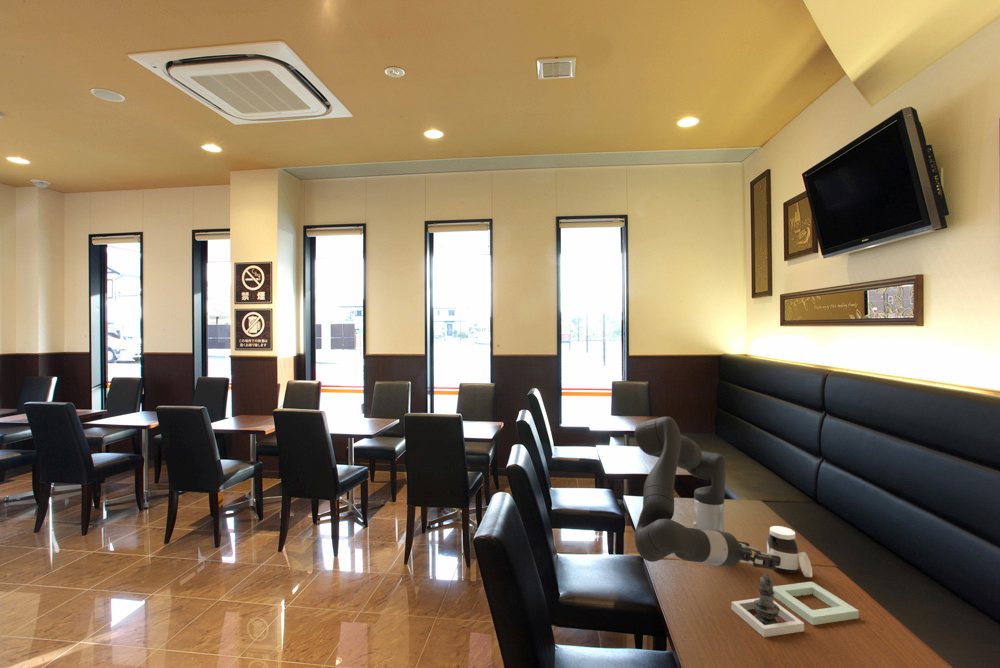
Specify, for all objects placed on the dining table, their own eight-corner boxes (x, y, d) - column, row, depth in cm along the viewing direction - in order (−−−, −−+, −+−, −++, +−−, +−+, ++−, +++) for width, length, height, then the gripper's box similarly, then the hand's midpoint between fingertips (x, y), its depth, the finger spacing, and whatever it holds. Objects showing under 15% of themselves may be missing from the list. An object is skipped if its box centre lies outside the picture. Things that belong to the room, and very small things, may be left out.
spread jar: (763, 558, 150) (764, 522, 150) (803, 563, 147) (803, 526, 147) (775, 577, 138) (775, 538, 138) (818, 582, 135) (818, 543, 135)
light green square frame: (812, 625, 116) (812, 617, 116) (769, 593, 129) (769, 586, 129) (858, 618, 118) (858, 610, 118) (812, 588, 132) (812, 581, 132)
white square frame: (763, 637, 111) (763, 629, 111) (731, 609, 122) (731, 601, 122) (804, 631, 113) (804, 623, 113) (768, 604, 124) (768, 596, 124)
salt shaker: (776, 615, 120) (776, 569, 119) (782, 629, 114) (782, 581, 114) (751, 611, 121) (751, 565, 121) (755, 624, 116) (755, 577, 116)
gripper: (741, 542, 101) (792, 549, 106) (692, 521, 114) (740, 528, 120) (736, 577, 100) (788, 582, 105) (688, 552, 113) (736, 558, 119)
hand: (762, 554), depth 113 cm, fingers open, 8 cm apart
